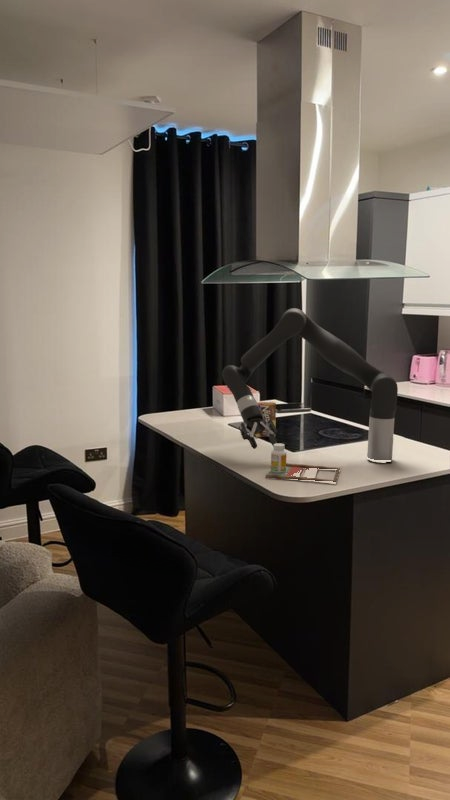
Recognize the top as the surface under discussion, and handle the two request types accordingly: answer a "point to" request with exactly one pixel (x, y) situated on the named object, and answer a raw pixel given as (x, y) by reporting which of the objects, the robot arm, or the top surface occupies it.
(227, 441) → the top surface
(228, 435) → the top surface
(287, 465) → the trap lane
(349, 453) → the top surface
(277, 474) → the tile
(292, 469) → the mats
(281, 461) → the supplement bottle
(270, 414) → the candy box
